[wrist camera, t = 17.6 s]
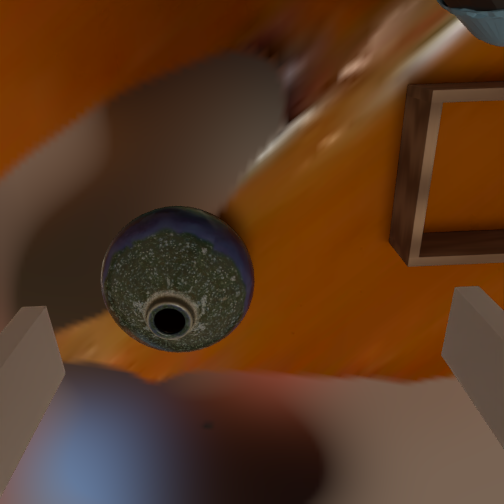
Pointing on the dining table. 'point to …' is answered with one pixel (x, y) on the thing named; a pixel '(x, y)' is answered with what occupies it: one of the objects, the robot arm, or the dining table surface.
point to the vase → (177, 279)
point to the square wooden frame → (419, 177)
